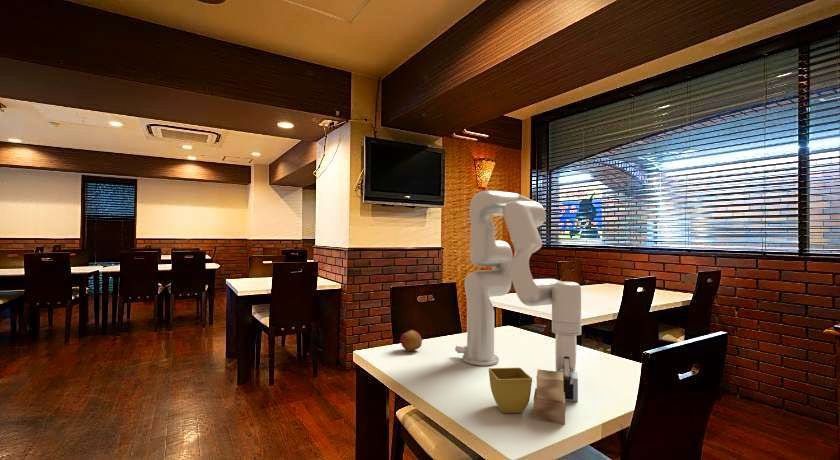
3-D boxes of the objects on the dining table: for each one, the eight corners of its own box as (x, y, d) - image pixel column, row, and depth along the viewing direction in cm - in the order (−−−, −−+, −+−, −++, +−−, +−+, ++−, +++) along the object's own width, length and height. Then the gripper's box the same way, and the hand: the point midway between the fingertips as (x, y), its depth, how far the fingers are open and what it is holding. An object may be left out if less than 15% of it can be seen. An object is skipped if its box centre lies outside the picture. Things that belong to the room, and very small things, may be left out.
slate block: (555, 398, 104) (555, 376, 104) (555, 391, 109) (555, 369, 110) (577, 401, 102) (577, 378, 103) (577, 394, 108) (576, 372, 108)
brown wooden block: (533, 420, 92) (533, 398, 92) (535, 408, 99) (535, 388, 99) (565, 425, 90) (565, 403, 90) (564, 412, 96) (564, 392, 96)
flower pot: (487, 402, 101) (488, 367, 102) (520, 401, 102) (520, 366, 102) (497, 417, 93) (497, 379, 93) (532, 416, 93) (533, 378, 94)
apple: (411, 347, 154) (411, 326, 154) (425, 351, 148) (425, 330, 148) (396, 350, 148) (396, 329, 149) (410, 355, 142) (410, 333, 143)
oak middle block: (536, 398, 92) (536, 377, 92) (537, 389, 98) (537, 369, 98) (563, 402, 90) (563, 380, 90) (563, 392, 96) (563, 372, 96)
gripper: (552, 320, 116) (552, 381, 115) (551, 332, 100) (551, 404, 99) (579, 322, 113) (579, 385, 113) (583, 335, 97) (583, 408, 97)
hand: (566, 393), depth 106 cm, fingers closed on slate block, 5 cm apart
